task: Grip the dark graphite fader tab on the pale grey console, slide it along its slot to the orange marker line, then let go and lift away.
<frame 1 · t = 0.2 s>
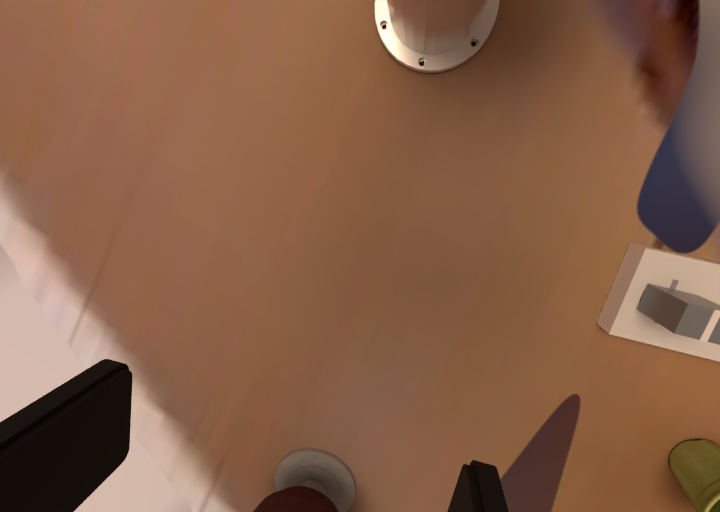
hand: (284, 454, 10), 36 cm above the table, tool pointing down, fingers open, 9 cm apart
plant pot: (693, 458, 46), on the table
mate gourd: (318, 478, 56), on the table
fader: (687, 313, 36), point 6 cm above the table, slide at -9.0 cm
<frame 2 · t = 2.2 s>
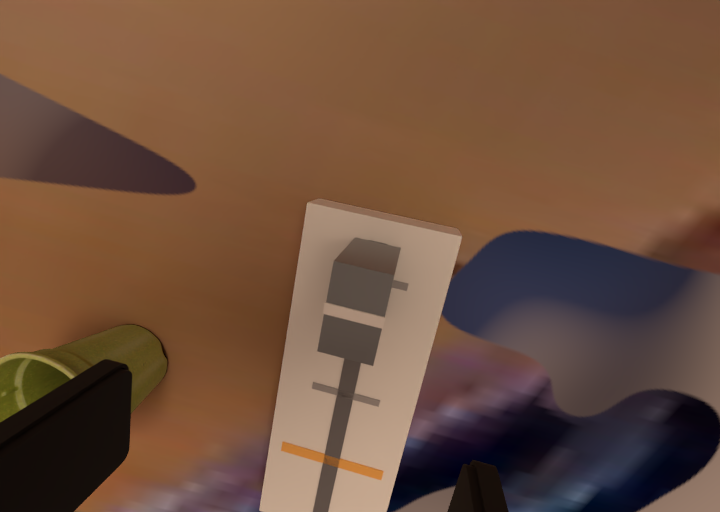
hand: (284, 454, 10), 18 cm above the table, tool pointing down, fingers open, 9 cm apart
plant pot: (138, 353, 33), on the table
console: (353, 371, 30), on the table
fader: (362, 294, 21), point 6 cm above the table, slide at -9.0 cm
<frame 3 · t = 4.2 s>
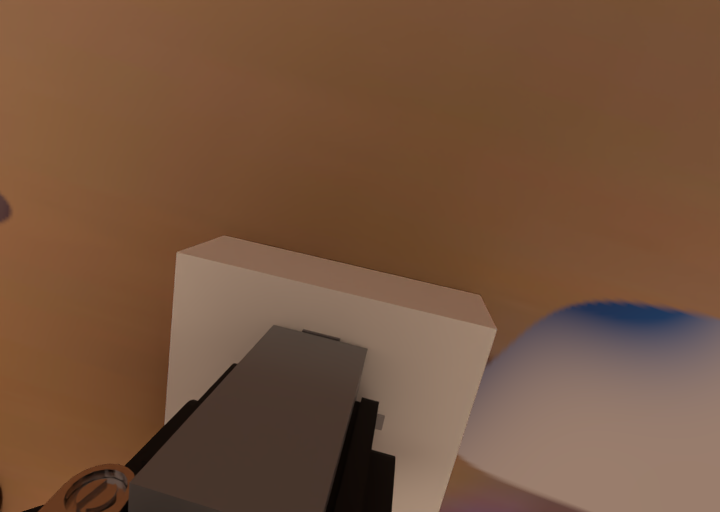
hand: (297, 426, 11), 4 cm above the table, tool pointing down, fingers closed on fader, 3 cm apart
fader: (271, 482, 9), point 6 cm above the table, slide at -9.0 cm, touching gripper
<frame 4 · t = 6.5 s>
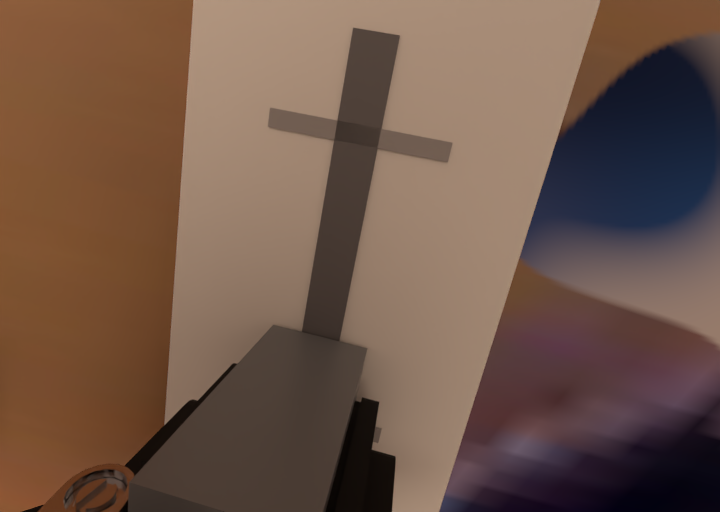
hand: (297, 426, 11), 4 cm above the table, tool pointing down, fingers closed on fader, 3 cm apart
console: (327, 367, 15), on the table
fader: (271, 482, 9), point 6 cm above the table, slide at -0.5 cm, touching gripper
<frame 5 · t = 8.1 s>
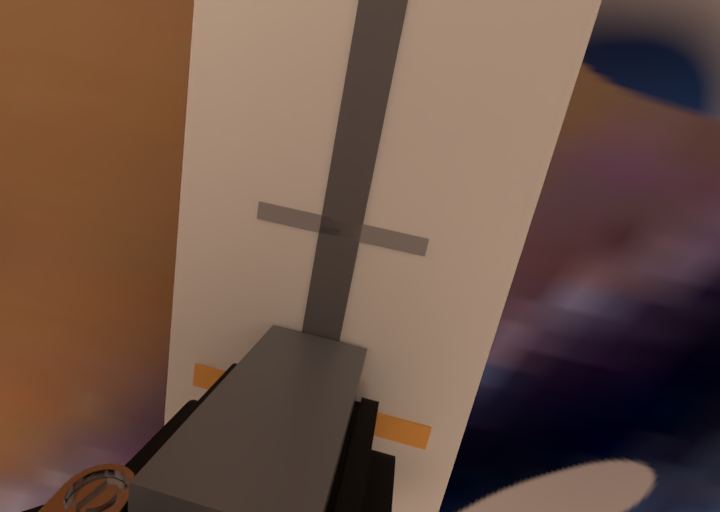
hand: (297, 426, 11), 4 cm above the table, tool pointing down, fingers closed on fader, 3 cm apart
console: (357, 215, 14), on the table
fader: (271, 482, 9), point 6 cm above the table, slide at 5.9 cm, touching gripper
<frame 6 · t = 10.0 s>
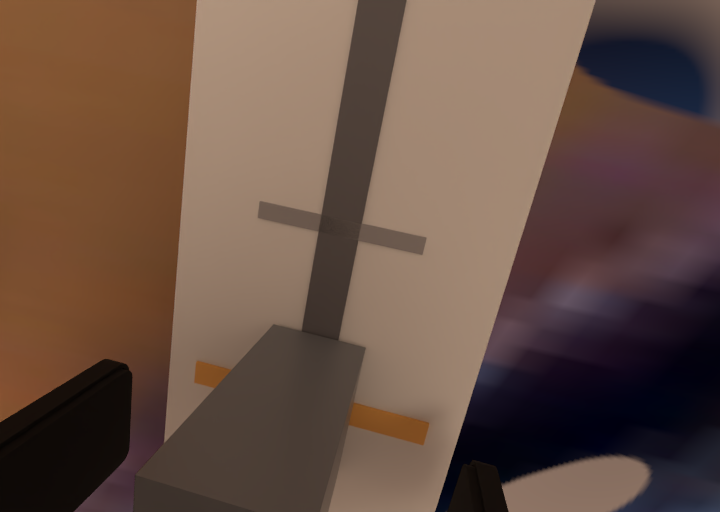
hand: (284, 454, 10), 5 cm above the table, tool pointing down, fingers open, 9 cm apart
console: (356, 215, 14), on the table
fader: (271, 478, 9), point 6 cm above the table, slide at 6.0 cm
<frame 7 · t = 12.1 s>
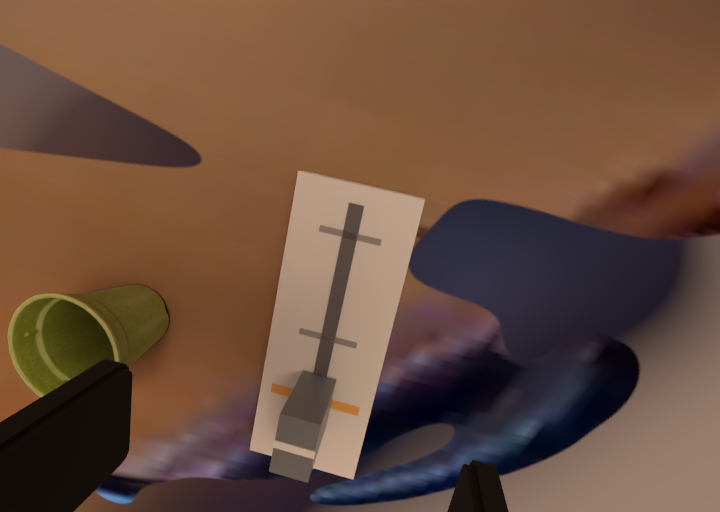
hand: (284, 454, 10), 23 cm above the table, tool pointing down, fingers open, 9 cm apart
plant pot: (142, 312, 37), on the table
console: (334, 324, 34), on the table
fader: (305, 422, 30), point 6 cm above the table, slide at 6.0 cm
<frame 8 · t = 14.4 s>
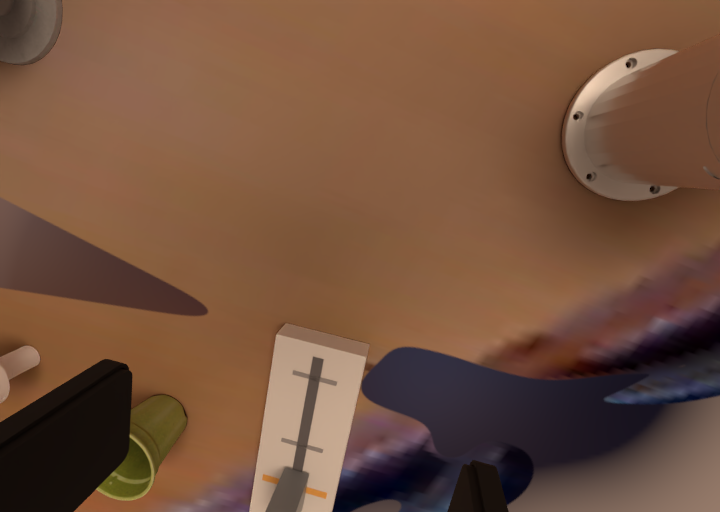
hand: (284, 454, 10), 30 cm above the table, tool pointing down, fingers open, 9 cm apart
plant pot: (166, 413, 49), on the table
console: (309, 427, 46), on the table
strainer: (31, 355, 50), on the table
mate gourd: (18, 6, 39), on the table
fader: (285, 509, 41), point 6 cm above the table, slide at 6.0 cm
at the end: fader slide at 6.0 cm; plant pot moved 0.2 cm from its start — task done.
